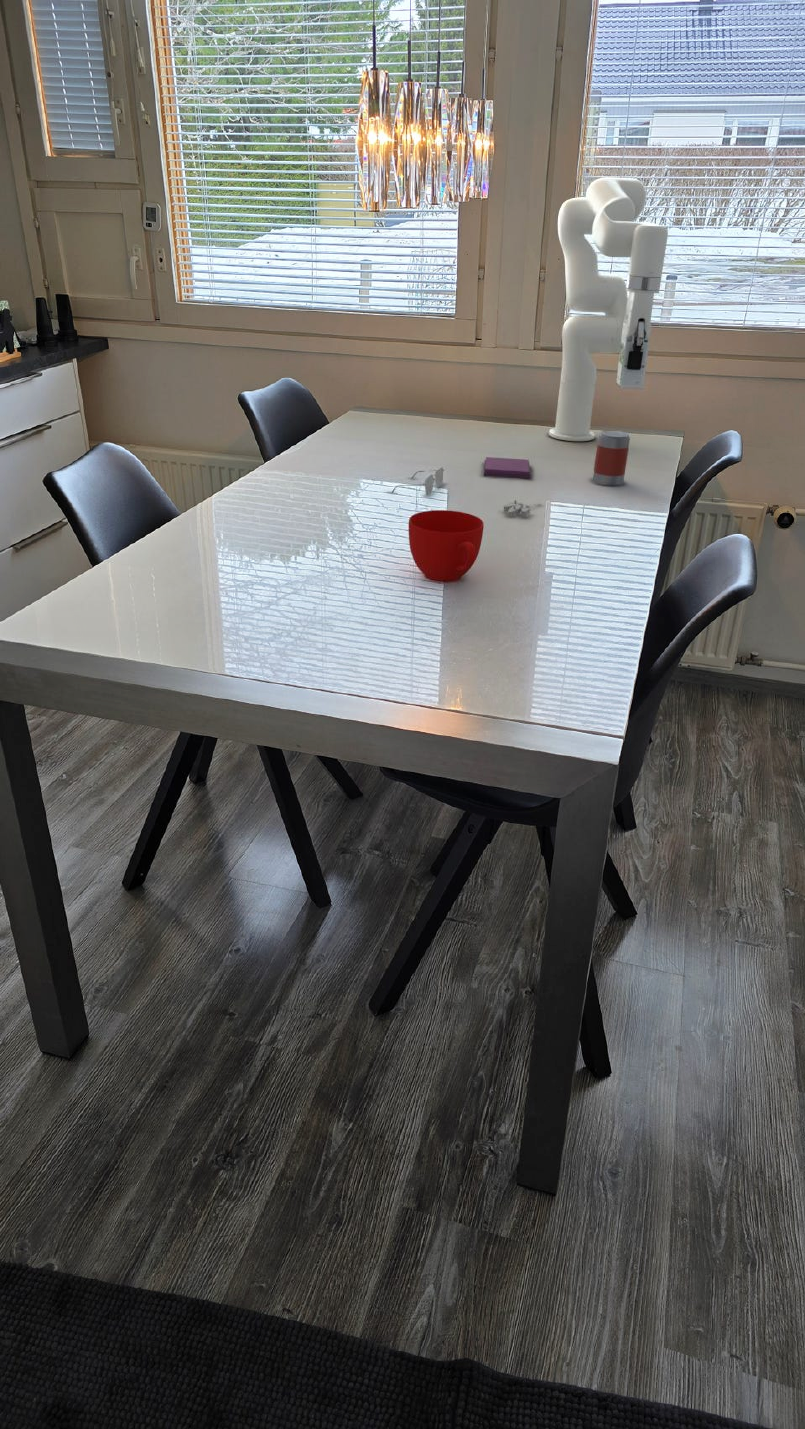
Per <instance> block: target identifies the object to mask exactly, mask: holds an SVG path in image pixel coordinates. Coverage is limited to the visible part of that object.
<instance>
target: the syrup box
mask: <svg viewBox="0 0 805 1429" xmlns="http://www.w3.org/2000/svg"><path fill="white" fill-rule="evenodd" d="M637 327H638V326H637ZM625 330H626V323H625V321H624V323H623V330H622V338H621V346H620V353H618V354H619V355H618V364H617V372H616V380H615V384H616V385H617V386H618V387H619V388H621V389H637V390H638V389H639V390H640V389H641V390H643V389H644V385H645V378H646V372H647V364H648V356H649V348H650V341H651V340H650V339H651V332H652V324H651V323H650V327H649V333H648V337H647V338H646V339H644V345H643V356H642V363H641V369H640V370H629V369H627V361H628V354H629V351H630V349H631V339H632V336H630V337H629V338H627V337H626V336H625ZM644 335H646V332H645V334H644ZM634 337H637V335H634ZM644 338H645V337H644ZM634 342H635V341H634Z"/></svg>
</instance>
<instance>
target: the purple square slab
mask: <svg viewBox="0 0 805 1429" xmlns="http://www.w3.org/2000/svg"><path fill="white" fill-rule="evenodd" d="M483 477H496V478H507V479H509V478H510V479H523V480H524V479H525V480H530V479H531V466H530V460H529V459H525V458H524V459H522V458H510V457H509V458H507V457H494V456H485V459H484V466H483Z"/></svg>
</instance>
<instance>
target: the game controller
mask: <svg viewBox="0 0 805 1429" xmlns="http://www.w3.org/2000/svg"><path fill="white" fill-rule="evenodd" d="M536 504H539V505H538V506H540V505H541V504H540V503H537V502H536V503H535V504H534V505H533V506H531V505H529V504H526V503H523V502H518V501H517V500H516V499H515V500H513V501H509V502H507V503H505V504H503V512H505V513H507V516H508V518H513V517H515V516H517V515H519V514H521V517H524V518H525V517H527V516H528V515H530V513H531V507H535V506H536Z"/></svg>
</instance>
